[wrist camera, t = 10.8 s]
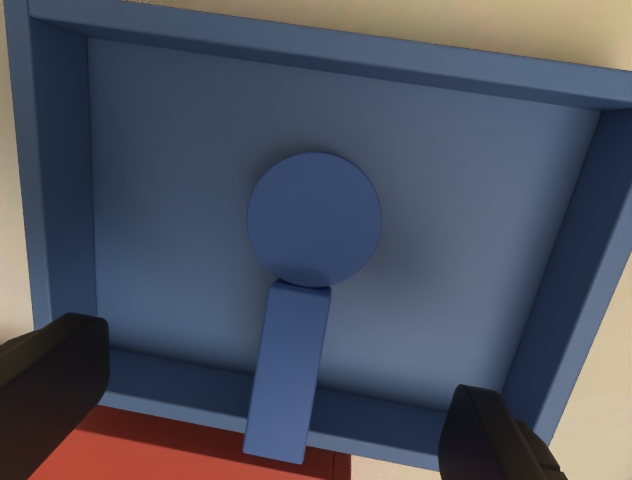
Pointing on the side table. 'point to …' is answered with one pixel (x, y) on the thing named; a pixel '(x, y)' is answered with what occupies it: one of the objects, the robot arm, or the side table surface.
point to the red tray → (173, 453)
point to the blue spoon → (302, 285)
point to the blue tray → (354, 146)
